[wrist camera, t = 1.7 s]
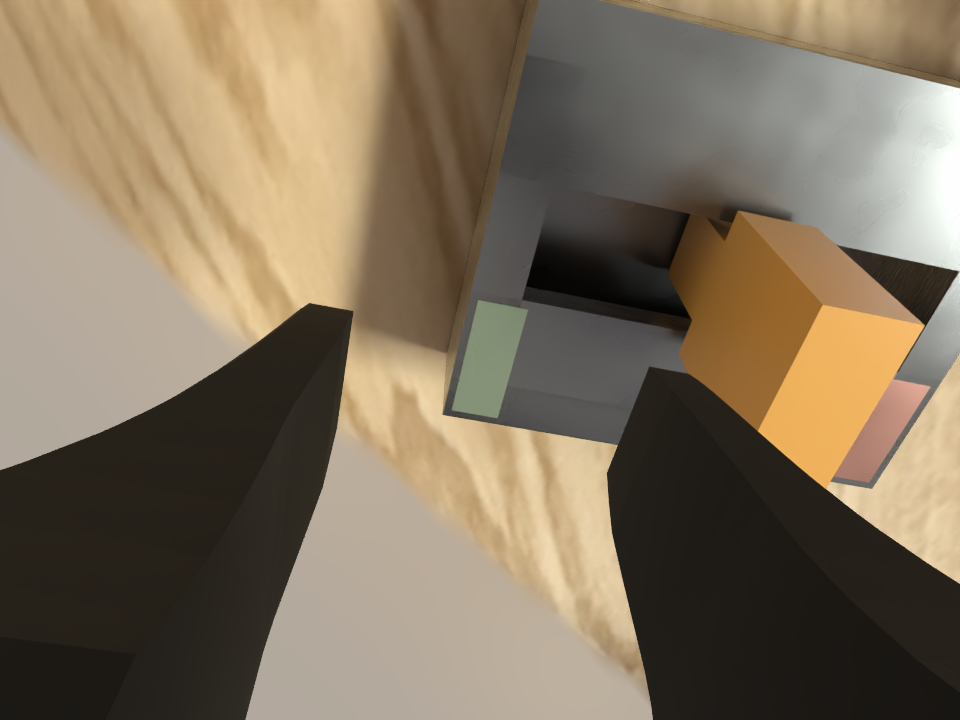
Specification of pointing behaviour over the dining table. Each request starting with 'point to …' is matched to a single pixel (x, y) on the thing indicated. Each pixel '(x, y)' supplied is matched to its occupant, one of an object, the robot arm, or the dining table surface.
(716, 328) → the lever
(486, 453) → the dining table surface
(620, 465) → the robot arm
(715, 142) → the switch box
